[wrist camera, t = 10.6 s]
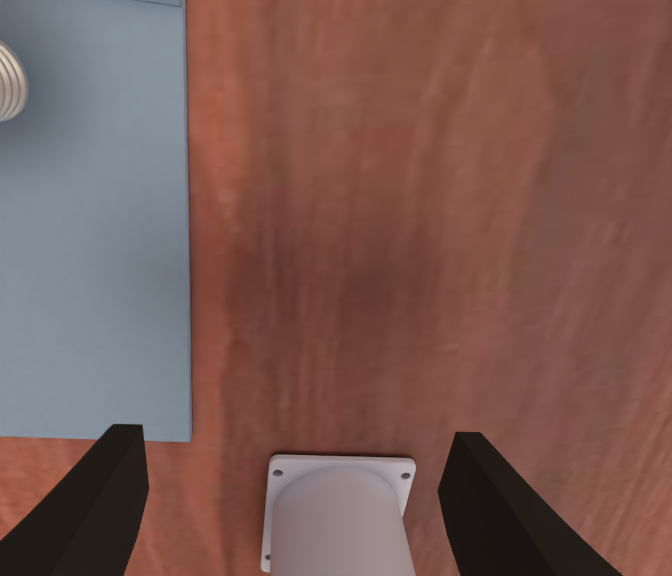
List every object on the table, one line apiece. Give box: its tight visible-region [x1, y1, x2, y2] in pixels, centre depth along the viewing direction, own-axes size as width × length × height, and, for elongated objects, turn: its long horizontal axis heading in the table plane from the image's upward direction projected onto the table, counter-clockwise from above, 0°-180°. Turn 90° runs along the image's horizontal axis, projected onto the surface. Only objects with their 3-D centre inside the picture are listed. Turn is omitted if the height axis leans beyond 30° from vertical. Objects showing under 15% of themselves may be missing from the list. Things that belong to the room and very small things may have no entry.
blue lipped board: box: [0, 0, 192, 442], centre depth 18 cm, size 20×12×1 cm, turn 173°
